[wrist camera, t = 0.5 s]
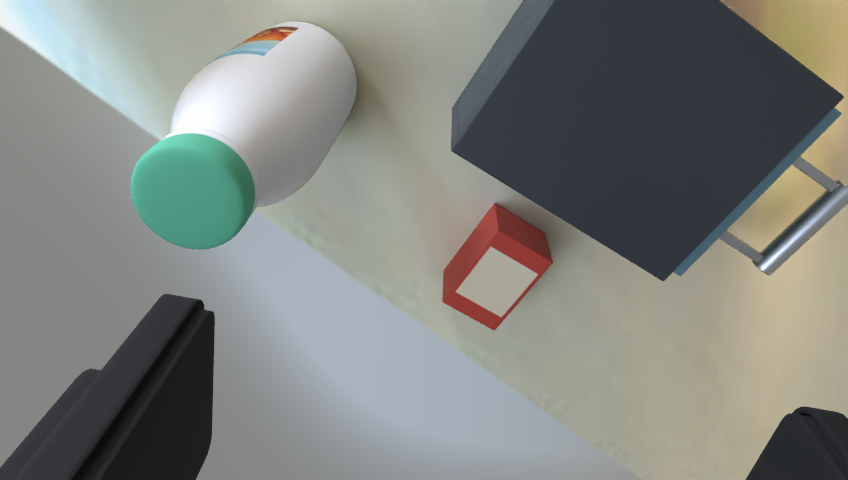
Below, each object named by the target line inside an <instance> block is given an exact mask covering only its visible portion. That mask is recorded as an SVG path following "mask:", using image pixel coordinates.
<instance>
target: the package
mask: <svg viewBox="0 0 848 480" xmlns="http://www.w3.org/2000/svg"><path fill="white" fill-rule="evenodd" d="M552 263H553V262H552V258H551V254H550V251H549V247H548V243H547V240H546V236H545V233H543V232H542V231H540V230H538V229H537V228H535V227H533V226H532V225H530V224H528V223H527V222H525V221H524V220H522V219H520V218H519V217H517V216H515V215H514V214H512V213H510V212H509V211H507V210H505V209H504V208H502V207H500V206H499V205H497V204H494V205H493V206H492V208H491V209H490V210H489V211H488V213H487V214H486V215H485V217H484V218H483V219H482V221H481V222H480V223H479V225H478V226H477V227H476V229H475V230H474V231H473V233H472V234H471V235H470V237H469V238H468V239H467V241H466V242H465V243H464V245H463V246H462V247H461V249H460V250H459V251H458V252H457V254H456V255H455V256H454V258H453V259H452V260H451V262H450V263H449V264H448V266H447V267H446V268H445V270H444V276H443V302H444V303H445V304H447V305H449V306H451V307H453V308H454V309H456V310H458V311H460V312H462V313H464V314H465V315H467V316H469V317H471V318H473V319H474V320H476V321H478V322H480V323H482V324H483V325H485V326H487V327H489V328H491V329H493V330H495V329H496V328H497V327H498V326H499V325H500V324H501V322H502V321H503V320H504V319H505V318H506V317H507V315H508V314H509V313H510V312H511V311H512V310H513V308H514V307H515V306H516V305H517V304H518V303H519V301H520V300H521V299H522V298H523V297H524V296H525V294H526V293H527V292H528V291H529V290H530V289H531V287H532V286H533V285H534V284H535V283H536V282H537V280H538V279H539V278H540V277H541V276H542V275H543V273H544V272H545V271H546V270H547V269H548V268H549V266H550V265H551V264H552Z"/></svg>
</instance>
